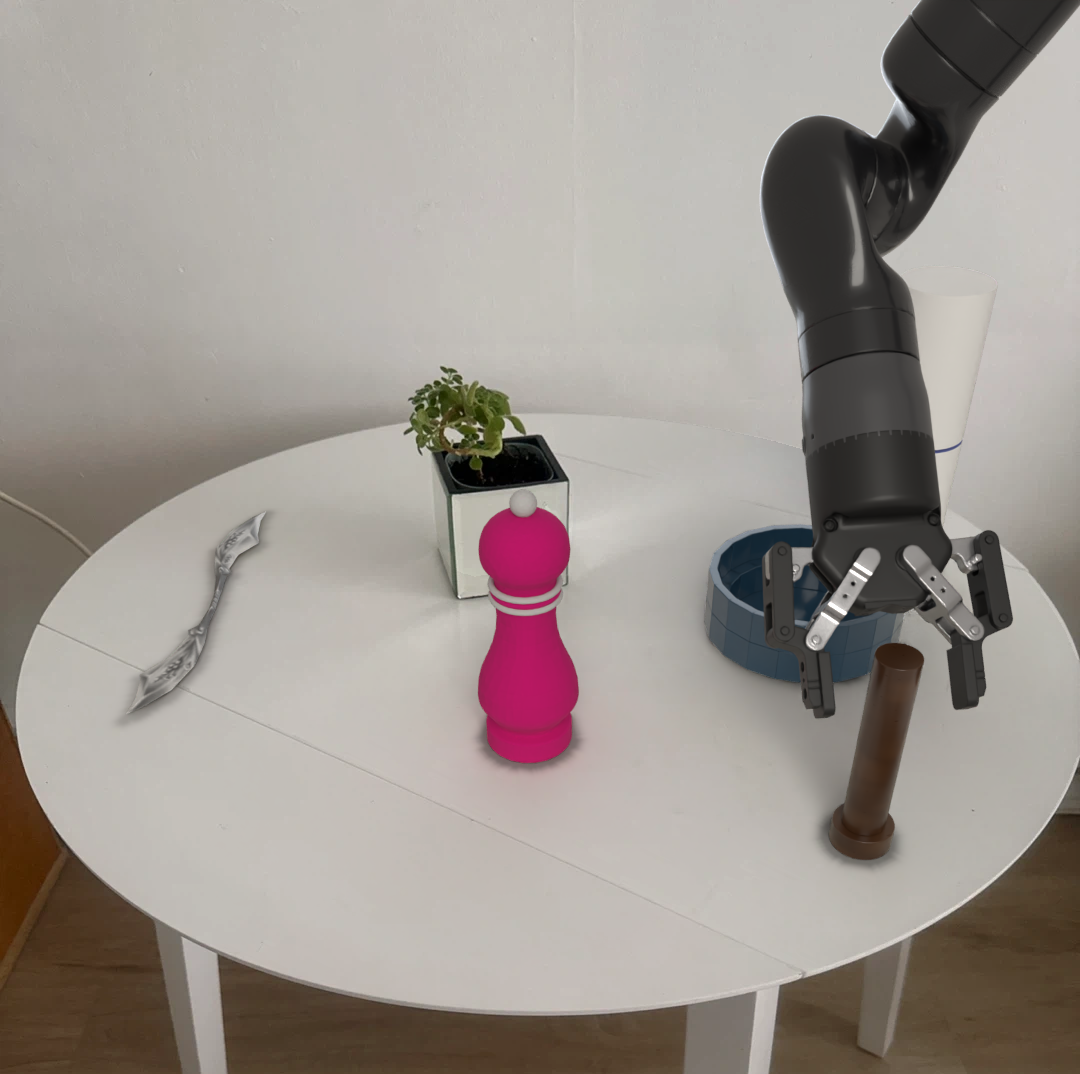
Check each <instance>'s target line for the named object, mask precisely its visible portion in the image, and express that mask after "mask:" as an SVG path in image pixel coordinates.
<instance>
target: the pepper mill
mask: <svg viewBox="0 0 1080 1074" xmlns="http://www.w3.org/2000/svg"><path fill="white" fill-rule="evenodd" d="M508 504H509V505H508V506H509V507H508V508H504V509H502V510H500V511H498V512H497V513H495V514H494V515H492V516H491V517H490V518H489V519H488V521H487V522H486V523H485V525H484V526H483V528H482V530H481V533H480V535H479V540H478V560H479V562H480V565H481V568H482V570H483V571H484V572H485V573H486V575H488V578H487V579H488V580H487V588H488V593H487V595H488V596H487V597H488V600H489V603H490V604H491V605H492V607H494V608H495V614H496V615H495V616H496V617H495V629H494V633H493V638H492V641H491V643H490V646H489V649H488V650H487V653H486V655H485V656H484V659H483V662H482V664H481V666H480V671H479V674H478V680H477V698H478V702H479V705H480V707H481V709H482V710H483V712H484V713H485V714H486V719H485V721H486V722H485V723H486V740H487V744H488V745H489V747H490V748H491V749H492V750H493V751H494V752H495V754H497V755H498V756H500V757H502V758H504V759H506V760H509V761H511V762H516V763H522V764H536V763H541V762H546V761H547V762H548V761H549V760H551V759H553V758H556V757H558V756H559V755H561V754H562V753H563V752H564V751H565V750H567V748H568V747H569V745H570V743H571V741H572V739H573V716H572V712H573V710H574V709H575V707H576V705H577V702H578V701H579V695H580V687H579V677H578V674H577V670H576V667H575V663H574V662H573V659H572V657H571V656H570V654H569V651H568V650H567V648H566V646H565V644H564V642H563V640H562V638H561V637H562V636H561V634H560V631H559V627H558V619H557V618H558V617H557V606H558V605H560V603H561V602H562V600H563V597H564V591H563V585H564V579H563V577H562V574H563V573H564V571H565V570H566V569H567V567H568V566H569V562H570V558H571V541H570V536H569V533H568V531H567V528H566V526H565V524H564V523H563V522H562V520H560V518H559V517H557V516H556V515H555V514H554V513H552V512H551V511H549V510H547V509H545V508H542V507H539V506H538V501H537V496H536V495H535V494H534V493H533V492H532V491H531V490H529V489H526V488H525V489H523V488H522V489H521V488H520V489H517V490H516V491H515V492H513V493H512V494H511V496H510V498H509V502H508Z"/></svg>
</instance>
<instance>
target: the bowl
mask: <svg viewBox="0 0 1080 1074" xmlns="http://www.w3.org/2000/svg"><path fill="white" fill-rule="evenodd" d="M780 541H783V542H786V543H788V544H789V545H790V546H791V547H811V545H812V542H813V530H812V524H806V523H805V524H804V523H798V524H797V523H796V524H794V523H793V524H773V525H768V526H763V527H758V528H755V529H754V528H753V529H749V530H745V531H743V532H742V533H740V534H739V533H738V534H737V535H735V536H733V537H730V538H729V539H727V540H725V542H723V543H722V544H721V545H720V546H719V547H718V548H717V549H716V550H715V551H714V552H713V554H712V556H711V560H710V563H709V567H708V573H707V574H708V575H707V585H706V596H705V597H706V598H705V605H704V606H705V607H704V620H703V624H704V627H705V629H706V634H707V637H708V639H709V641H710V642H711V643H712V644H713V645H714V647H716V649H717V650H718V651H719V652H720V653H721V654H722V656H724V657H725V658H727V659H729V660H730V661H732V662H734V663H735V664H737V665H738V666H740V667H741V668H743V669H745V670H747V671H751V672H753V673H755V674H759V675H761V676H764V677H768V678H770V679H774V680H779V681H784V682H785V681H786V682H789V683H790V682H791V683H800V684H801V681H800V670H799V661H798V658H797V657H796V655H795V654H794V653H792V652H790V651H787V650H784V649H780V648H770V647H769V646H768V645H767V644H766V642H765V635H764V605H763V574H762V558H763V556H764V555H765V554H766V553H767V552H768V551H769V550H770V549H771V548H772V547H773V545H774V544H776V543H777V542H780ZM793 588H794V616H795V626H797V627H800V628H804V629H805V628H806V626H807V624H808V623H809V621H810V619H811V616H812V615H813V613H814V611H815V610H816V608H817V607H818V605H819V603H820V602H821V600H822V599H823V597H824V596H825V594H826V592H827V591H828V590H827V588H826V587H825V586H824V585H823V584H822V583H821V582H820V580H819V579H818V578H817V577H816V576H815V575H814V573H813V572H812V571H811V570H810V568H809V566H805V567H804V568H803V574H802V576H801V578H800V579H799V580H797V581H796V582H795V583H793ZM904 616H905V613H898V614H891V613H886V612H881V611H879V612H875V613H873V614H870V615H865V616H855V615H854V613H851V612H849V611H848V612H847V614H846V615H845V617H844V618H843V619H842V620H841V621H840V623H839V624H838V626H837V627H836V629H835V631H834V632H833V634H832V635H831V637H830V638H829V640H828V642H827V643H826V645H825V646H824V648H825V652H830V657H831V666H832V676H833V683H841V682H845V681H849V680H852V679H857V678H860V677H863V676H867V675H869V674H871V669H872V664H873V659H874V654H875V651H876V649H877V648H878V647H879V646H881V645H883V644H887V643H899V640H900V635H901V631H902V625H903V622H904Z"/></svg>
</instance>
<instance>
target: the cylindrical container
mask: <svg viewBox="0 0 1080 1074" xmlns="http://www.w3.org/2000/svg"><path fill="white" fill-rule="evenodd" d="M899 275H900V276H901V277H902V278H903V279H904V281H905V282H906V284H907V286H908V288H909V291H910V293H911V297H912V301H913V306H914V312H915V321H916V330H917V339H918V348H919V357H920V364H921V370H922V375H923V379H924V382H925V386H926V389H927V394H928V398H929V405H930V413H931V422H932V431H933V440H934V448H935V457H936V466H937V475H938V484H939V492H940V501H941V523H942V527H943V528H944V524H945V520H946V516H947V511H948V506H949V502H950V497H951V493H952V488H953V485H954V479H955V477H956V471H957V468H958V462H959V459H960V454H961V450H962V445H963V440H964V436H965V431H966V427H967V423H968V418H969V414H970V411H971V410H970V409H971V405H972V400H973V396H974V392H975V388H976V383H977V379H978V375H979V371H980V365H981V361H982V356H983V353H984V348H985V343H986V339H987V335H988V331H989V325H990V321H991V317H992V313H993V309H994V304H995V300H996V295H997V291H998V286H999V282H998V281H997V279H995V278H994V277H993V276H992V275H990V274H988V273H986V272H983V271H980V270H976V269H972V268H969V267H963V266H954V265H923V266H917V267H913V268H908V269H907V270H905V271H903V272H901V274H899Z"/></svg>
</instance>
